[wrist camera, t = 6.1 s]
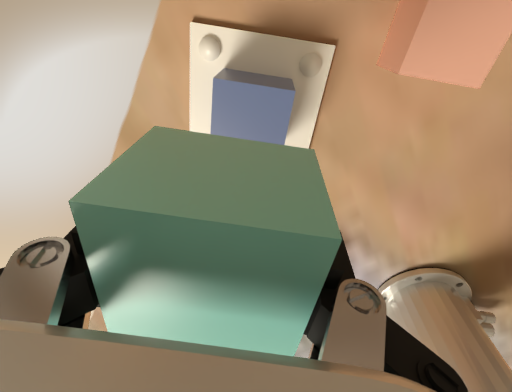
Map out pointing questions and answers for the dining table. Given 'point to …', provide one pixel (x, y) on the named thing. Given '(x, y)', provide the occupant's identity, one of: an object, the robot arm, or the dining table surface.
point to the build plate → (263, 62)
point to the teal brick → (209, 240)
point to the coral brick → (447, 39)
